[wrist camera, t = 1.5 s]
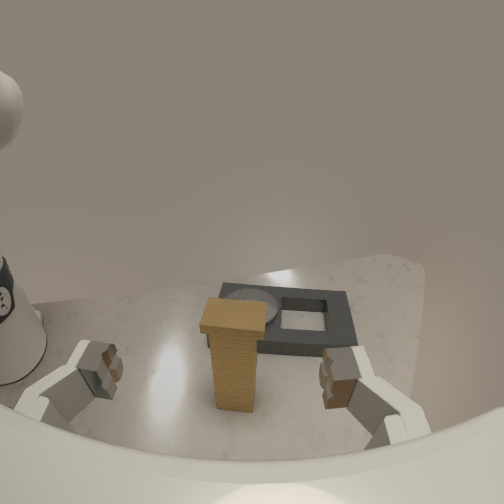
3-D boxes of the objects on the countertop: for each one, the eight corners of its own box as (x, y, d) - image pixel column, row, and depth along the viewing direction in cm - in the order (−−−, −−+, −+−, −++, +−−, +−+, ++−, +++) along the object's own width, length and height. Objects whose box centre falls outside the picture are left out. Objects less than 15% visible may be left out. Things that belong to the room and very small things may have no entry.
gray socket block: (208, 347, 38) (206, 330, 37) (223, 294, 49) (222, 278, 47) (353, 357, 37) (359, 341, 35) (342, 303, 47) (346, 287, 46)
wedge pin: (211, 409, 30) (199, 324, 23) (217, 385, 33) (208, 297, 26) (257, 415, 29) (264, 331, 22) (259, 390, 32) (267, 302, 26)
